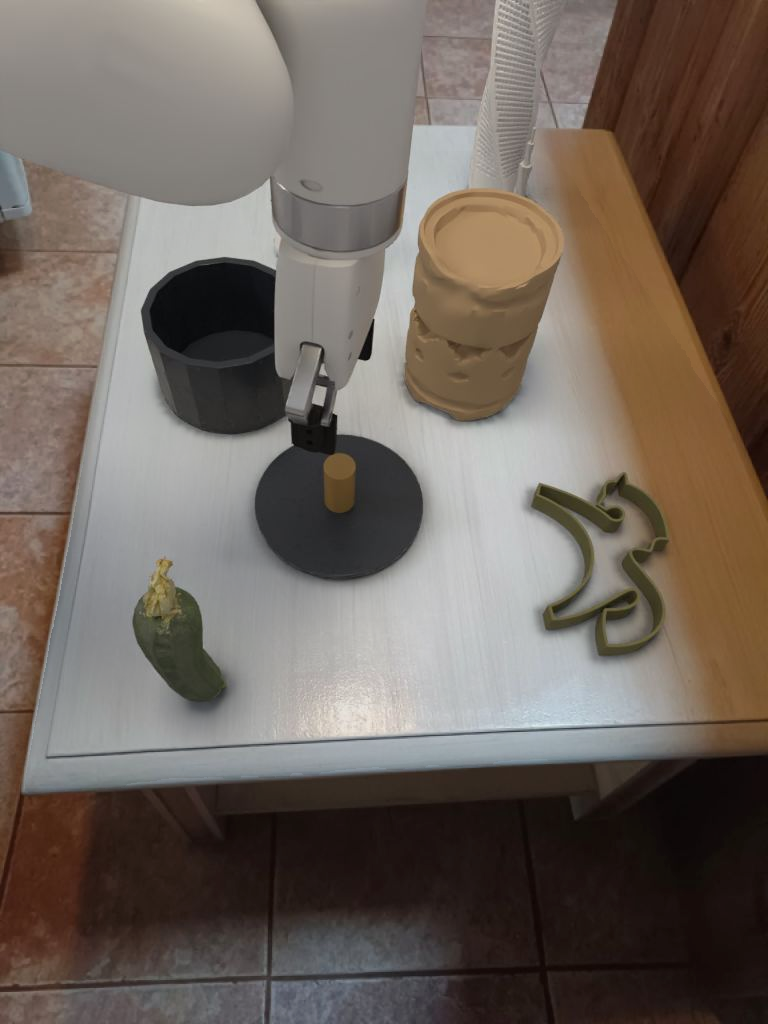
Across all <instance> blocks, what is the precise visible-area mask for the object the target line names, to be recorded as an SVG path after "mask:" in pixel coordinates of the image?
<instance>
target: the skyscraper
mask: <svg viewBox="0 0 768 1024" xmlns="http://www.w3.org/2000/svg"><path fill="white" fill-rule="evenodd" d="M566 2H567V0H495V5H494V14H493V23H492V34H491V47H490V64H489V65H490V66H489V71H488V75H487V78H486V82H485V85H484V89H483V93H482V98H481V103H480V106H479V112H478V116H477V122H476V127H475V132H474V133H475V134H474V140H473V147H472V154H471V163H470V171H469V178H468V179H469V180H468V189H473V188H489V189H498V190H503V191H508V192H511V193H515V194H518V195H520V196H523V197H526V192H527V185H528V180H529V177H530V174H531V171H532V169H533V166H534V164H532V162H531V159H532V154H533V150H534V147H535V144H536V142H534V140H535V135H536V132H537V127H536V126H537V120H538V113H539V105H540V104H539V103H540V92H541V70H542V68H543V67H542V66H543V65H544V62H545V61H546V57H547V55H548V52H549V50H550V48H551V45H552V42H553V41H554V37H555V34H556V31H557V29H558V26H559V24H560V21H561V18H562V15H563V12H564V9H565V6H566V4H567V3H566Z"/></svg>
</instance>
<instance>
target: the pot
mask: <svg viewBox="0 0 768 1024" xmlns="http://www.w3.org/2000/svg"><path fill="white" fill-rule="evenodd" d="M275 281H276V269H274V268H272V267H270V266H267V265H265V264H263V263H261V262H258V261H256V260H253V259H245V258H239V257H237V258H236V257H229V256H221V257H214V258H213V257H212V258H206V259H205V258H204V259H198V260H194V261H192V262H190V263H188V264H187V263H186V264H184V265H182V266H180V267H178V268H175V269H173V270H171V271H168V273H166V274H165V275H164V276H163V277H162V278H161V279H159V280H158V281H157V282H156V283H155V284H154V285H153V286H152V287H150V289H149V290H148V293H147V295H146V297H145V299H144V302H143V304H142V306H141V309H140V316H141V322H142V329H143V334H144V338H145V341H146V345H147V347H148V351H149V355H150V357H151V360H152V364H153V367H154V371H155V373H156V376H157V380H158V383H159V387H160V391H161V393H162V396H163V399H164V400H165V401H166V403H167V405H168V406H169V408H170V409H171V410H172V412H174V414H175V415H176V416H177V417H179V418H180V419H181V420H182V421H184V422H185V423H187V424H189V425H190V426H192V427H194V428H197V429H199V430H203V431H206V432H211V433H215V434H227V435H231V434H234V435H235V434H244V433H250V432H253V431H256V430H260V429H263V428H266V427H268V426H271V425H272V424H274V423H276V422H277V421H279V420H280V419H282V418H283V417H284V416H285V415H286V414H285V407H286V403H287V399H288V396H289V392H290V388H291V385H292V381H293V378H294V375H293V376H292V378H291V379H290V380H289V379H286V378H282V377H280V376H279V375H278V373H277V371H276V367H275V322H274V312H275V311H274V308H275ZM294 374H295V373H294Z"/></svg>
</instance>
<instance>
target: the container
mask: <svg viewBox="0 0 768 1024" xmlns="http://www.w3.org/2000/svg"><path fill="white" fill-rule="evenodd" d="M564 245H565V238H564V233H563V230H562V228H561V226H560V224H559V223H558V221H557V219H556V218H555V217H554V216H553V215H551V213H549V212H548V211H547V210H546V209H544V208H543V207H542V206H541V205H540V204H538V203H537V202H536V201H534V200H532V199H530V198H528V197H526V196H525V197H523V196H520V195H518V194H515V193H511V192H508V191H503V190H498V189H489V188H473V189H469V188H465V189H460V190H455V191H452V192H450V193H447V194H445V195H443V196H440V197H439V198H438V199H436V200H435V201H433V203H431V205H430V206H429V207H428V208H427V210H426V211H425V213H424V215H423V217H422V219H421V221H420V223H419V225H418V233H417V248H418V252H417V255H416V258H415V262H414V269H413V278H412V288H411V292H412V293H411V295H412V296H413V298H414V299H413V300H414V304H413V307H412V309H411V310H410V313H409V323H408V329H407V333H406V334H407V335H406V342H405V351H404V352H405V353H404V357H405V358H404V359H405V363H404V379H405V384H406V386H407V389H408V392H409V394H410V395H411V397H412V398H413V399H414V400H415V401H416V402H417V403H423V404H426V405H429V406H432V407H433V408H436V409H437V410H441V411H444V412H445V413H447V414H449V415H450V416H451V417H452V419H454V420H456V421H459V422H466V421H468V422H469V421H476V420H479V419H484V418H486V419H488V418H491V416H493V415H495V414H497V413H498V412H500V411H501V410H503V409H504V408H505V407H507V406H508V404H509V403H510V402H511V401H512V400H513V399H514V398H515V397H516V396H517V394H518V393H519V390H520V388H521V385H522V381H523V379H524V378H523V377H524V375H525V372H526V368H527V365H528V360H529V358H530V357H529V356H530V354H531V352H532V350H533V346H534V343H535V339H536V336H537V335H538V334H537V333H538V329H539V324H540V322H541V321H542V318H543V315H544V312H545V309H546V306H547V302H548V299H549V296H550V292H551V291H552V290H551V289H552V286H553V284H554V280H555V275H556V272H557V270H558V266H559V264H560V261H561V257H562V254H563V252H564Z"/></svg>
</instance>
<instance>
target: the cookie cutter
mask: <svg viewBox="0 0 768 1024" xmlns="http://www.w3.org/2000/svg"><path fill="white" fill-rule="evenodd" d="M616 487H617V489H618V496H619V497H622V498H624V499H626V500H628V501H630V502H631V503H633V504H634V505H636V506H637V507H639V508H640V509H641V510H642V511H643V513H644V514H645V515H646V516H647V518H648V519H649V521H650V523H651V525H652V527H653V530H654V533H655V536H656V537H655V538H653V540H652V541H651V542H650V544H649V545H648V547H631V548H630V549H629V550H628V552H627V553H626V555H625V556H624V557H623V559H622V560H621V566H622V568H623V569H624V571H625V573H626V574H627V575H628V578H630V579H631V581H632V582H633V583H634V584H635V586H637V588H638V589H639V590H640V591H641V592H642V594H643V595H644V597H645V598H646V600H647V601H648V603H649V605H650V608H651V611H652V614H653V626H652V629H651V631H650V633H649V634H647V636H645V637H643V638H641V639H638V640H635V641H632V642H626V643H609V640H608V634H607V628H606V627H607V625H606V621H614V620H618V619H622V618H625V617H626V616H628V615H629V614H630V613H631V612H632V610H633V609H634V608H635V607H636V606H637V605H638V603H639V602H640V599H641V593H640V591H639V590H638V589H637V588H635V587H629V588H626V589H624V590H622V591H620V592H618V593H617V594H614V595H613V596H612V597H609V598H608V599H606V600H604V601H602V602H600V603H599V604H597V605H594V606H592V607H590V608H588V609H586V610H583V611H580V612H576V613H573V614H570V615H566V616H564V615H563V616H557V617H556V616H555V613H557V612H559V611H560V610H562V609H564V608H565V607H567V606H568V605H569V604H570V603H572V602H573V601H574V600H575V599H576V597H577V596H578V595H579V594H580V592H581V590H583V588H584V586H585V585H586V583H587V582H588V580H589V578H590V577H591V574H592V571H593V568H594V565H595V549H594V545H593V542H592V539H591V537H590V535H589V533H588V531H587V530H586V528H585V527H584V526H583V524H582V523H581V522H580V521H579V520H578V518H576V516H575V515H574V514H573V513H571V512H570V511H573V512H575V513H577V514H578V515H580V516H582V517H584V518H586V519H587V520H588V521H590V522H592V523H593V524H595V526H597V527H598V528H600V529H601V530H602V531H603V532H605V533H614V532H616V531H617V530H618V529H619V527H620V525H621V524H622V523H623V521H624V519H625V518H626V510H625V509H624V508H623V507H621V506H619V505H609V506H607V507H605V506H604V505H602V503H603V501H604V500H605V498H606V496H607V495H611V493H612V492H613V491H614V489H616ZM530 506H531V508H532V509H535V510H537V511H539V512H542V513H543V514H545V515H547V516H549V517H550V518H552V519H553V520H555V521H556V522H558V523H559V524H560V525H561V526H563V527H564V528H565V529H566V530H567V531H568V532H569V533H570V534H571V535H572V537H573V538H574V540H576V543H577V544H578V546H579V548H580V550H581V553H582V556H583V561H584V573H583V577H582V581H581V583H580V585H578V587H576V588H575V589H574V590H573V591H572V592H571V593H569V594H568V595H566V596H564V597H563V598H561V599H560V600H557V601H555V602H552V603H549V604H548V605H547V606H546V608H545V609H544V611H543V613H542V618H543V622H544V626H545V629H546V630H559V629H565V628H568V627H571V626H574V625H577V624H580V623H582V622H584V621H587V620H589V619H591V618H593V617H595V616H597V615H598V614H599V615H598V616H597V618H596V620H595V621H596V622H595V629H594V631H595V632H594V634H595V635H594V636H595V644H596V649H597V653H598V656H601V657H603V656H604V657H606V656H607V657H610V656H611V657H613V656H621V655H626V654H629V653H632V652H635V651H637V650H639V649H641V648H643V647H644V646H645V645H646V644H647V643H648V642H649V641H650V640H652V639H653V637H654V636H655V635H656V634H657V633H658V632H659V631H660V629H661V628H662V626H663V625H664V622H665V620H666V612H667V611H666V610H667V609H666V604H665V600H664V598H663V594H662V593H661V591H660V590H659V587H658V586H657V585H656V583H655V582H654V581H653V580H652V578H651V577H650V576H649V574H647V572H646V571H645V570H644V569H643V568H642V566H641V565H640V564H639V563H643V562H645V561H646V559H647V558H648V556H649V555H650V554H651V552H653V551H657V552H658V551H659V552H662V551H663V549H664V548H666V545H667V544H668V543H669V542H670V532H669V528H668V523H667V520H666V517H665V514H664V512H663V510H662V509H661V507H660V505H659V504H658V503H657V501H656V500H655V499H654V497H652V496H651V495H650V493H647V492H646V491H645V490H644V489H642V488H641V487H639V486H637V485H635V484H632V483H631V482H629V477H628V473H627V472H626V471H622V472H621V473H619V475H618V476H616V478H615V479H609V480H607V481H606V482H605V483H604V484H603V486H602V488H601V489H600V491H599V493H598V495H597V497H596V505H595V504H593V503H591V502H590V501H588V500H586V499H584V498H583V497H580V496H578V495H575V494H573V493H570V492H568V491H566V490H563V489H561V488H557V487H555V486H553V485H548V484H546V483H542V482H538V484H537V487H536V489H535V490H534V494H533V498H532V501H531V505H530ZM569 510H570V511H569ZM623 601H627V602H628V605H626V606H625V605H624V606H620V607H613V606H615V605H616V604H618V603H620V602H623Z"/></svg>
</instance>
